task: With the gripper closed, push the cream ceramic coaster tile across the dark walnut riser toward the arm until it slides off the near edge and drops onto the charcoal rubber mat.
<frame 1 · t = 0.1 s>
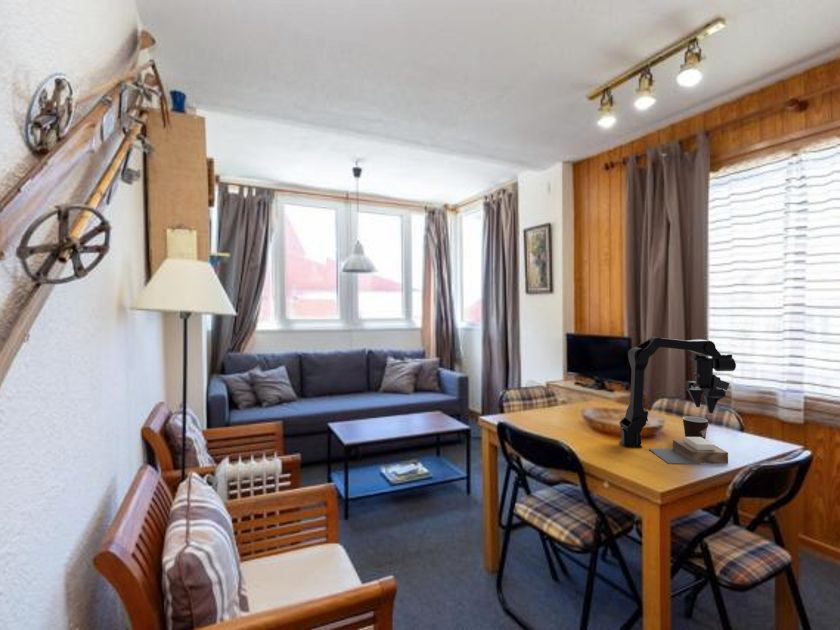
hand: (704, 410, 168), 15 cm above the table, fingers open, 9 cm apart
charcoal mat: (673, 456, 158), on the table
walnut riser: (699, 456, 158), on the table
ceramic tile: (699, 445, 158), point 4 cm above the table, touching walnut riser
coffee mug: (698, 444, 172), on the table
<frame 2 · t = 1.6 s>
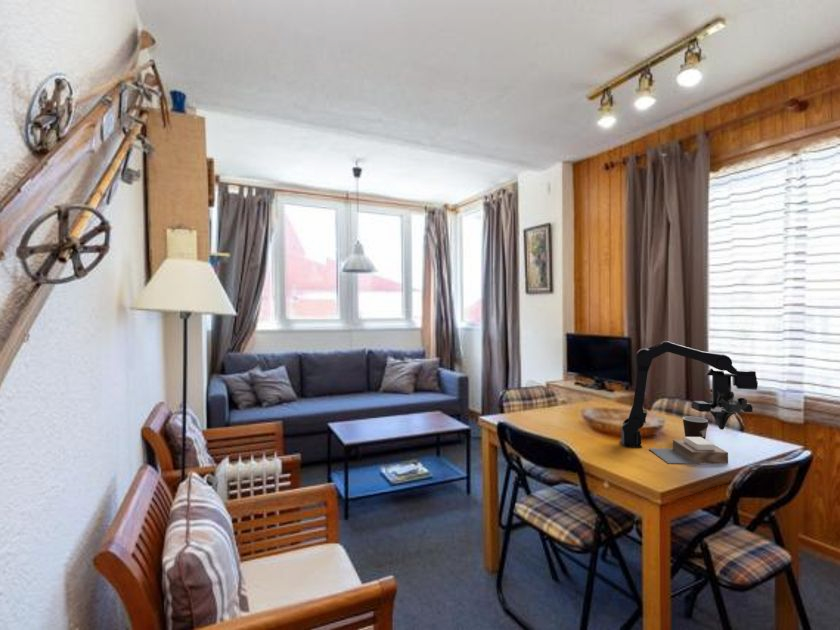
hand: (721, 429, 157), 10 cm above the table, fingers closed
nothing on the table moved.
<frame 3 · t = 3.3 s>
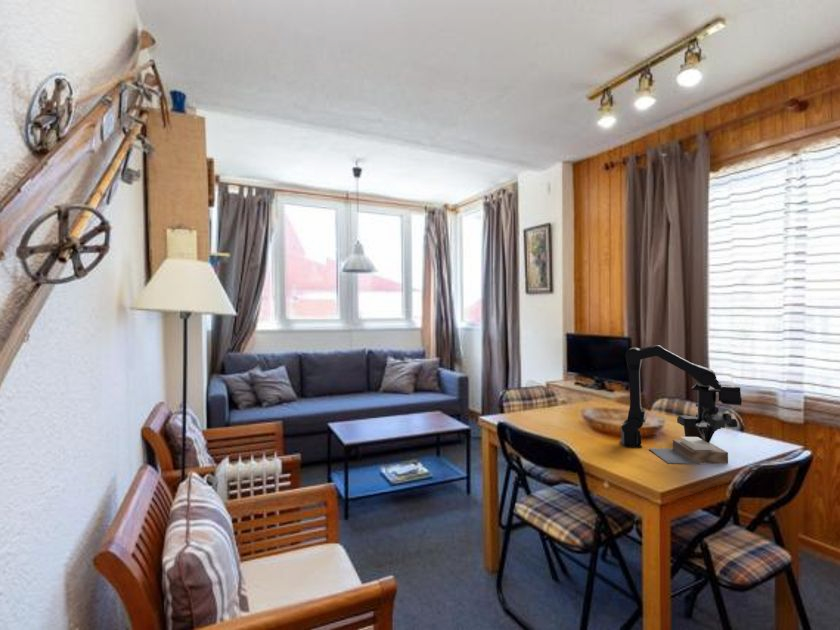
hand: (706, 444, 157), 5 cm above the table, fingers closed
ceramic tile: (695, 445, 158), point 4 cm above the table, touching gripper, walnut riser
everything else where it was.
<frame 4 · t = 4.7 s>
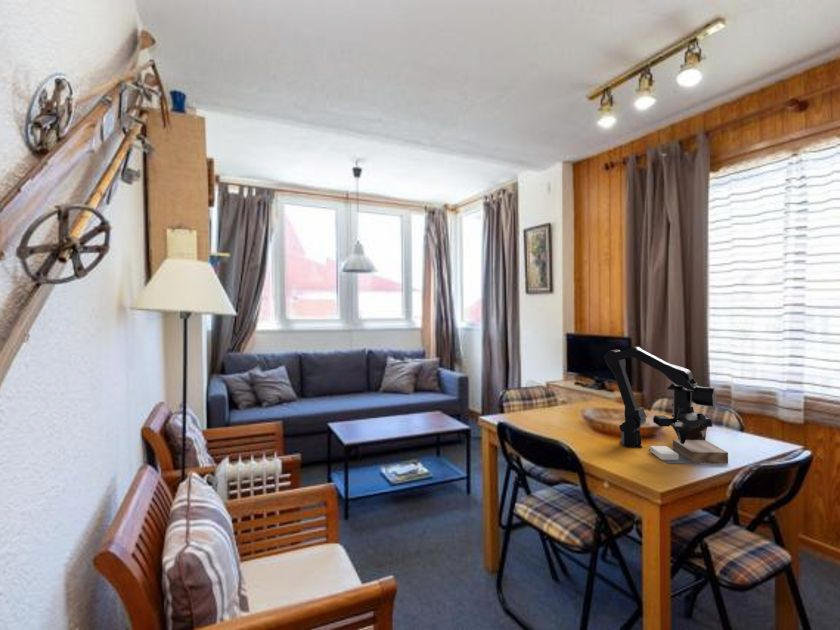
hand: (682, 443, 158), 5 cm above the table, fingers closed
ceramic tile: (663, 450, 158), point 2 cm above the table, tilted 180°, touching charcoal mat
everything else where it was.
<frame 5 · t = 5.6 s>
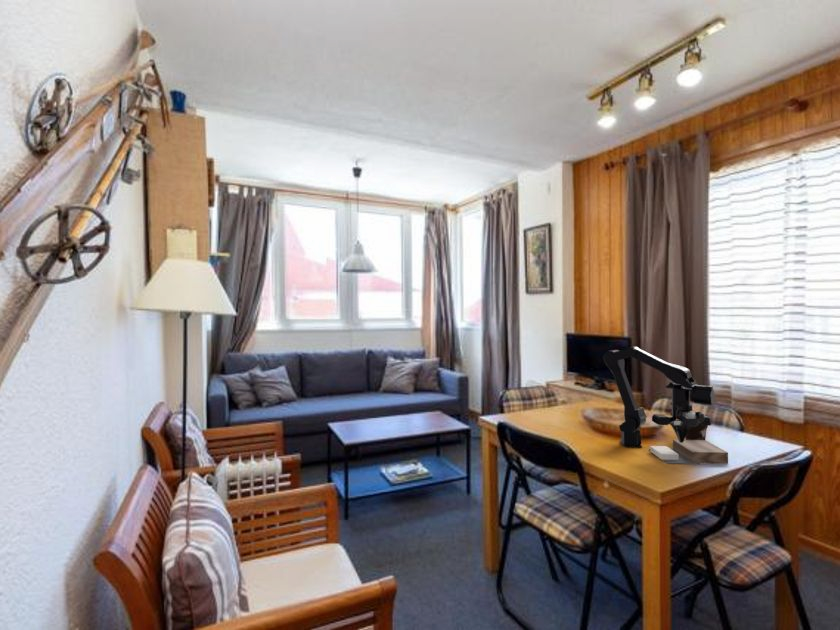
hand: (681, 442, 158), 5 cm above the table, fingers closed
nothing on the table moved.
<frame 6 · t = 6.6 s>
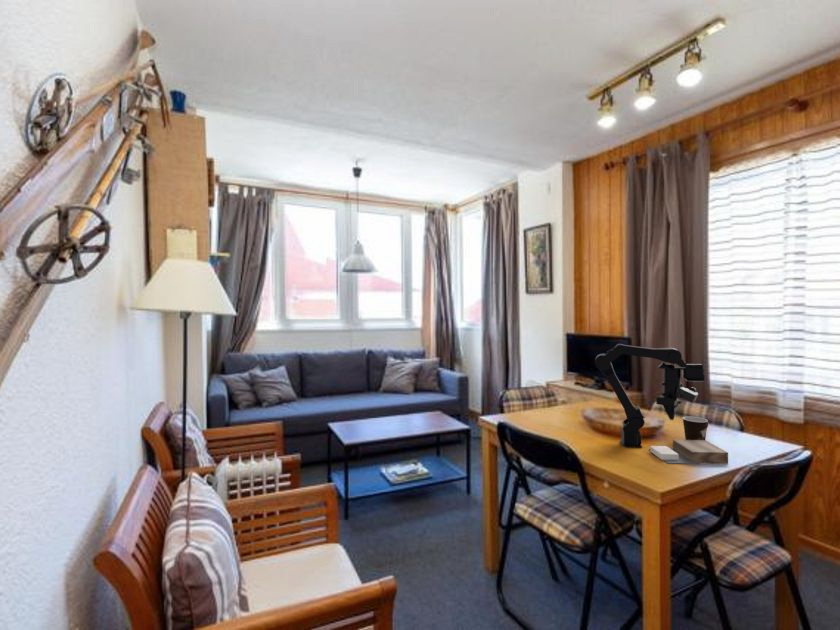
hand: (671, 419, 165), 12 cm above the table, fingers closed
nothing on the table moved.
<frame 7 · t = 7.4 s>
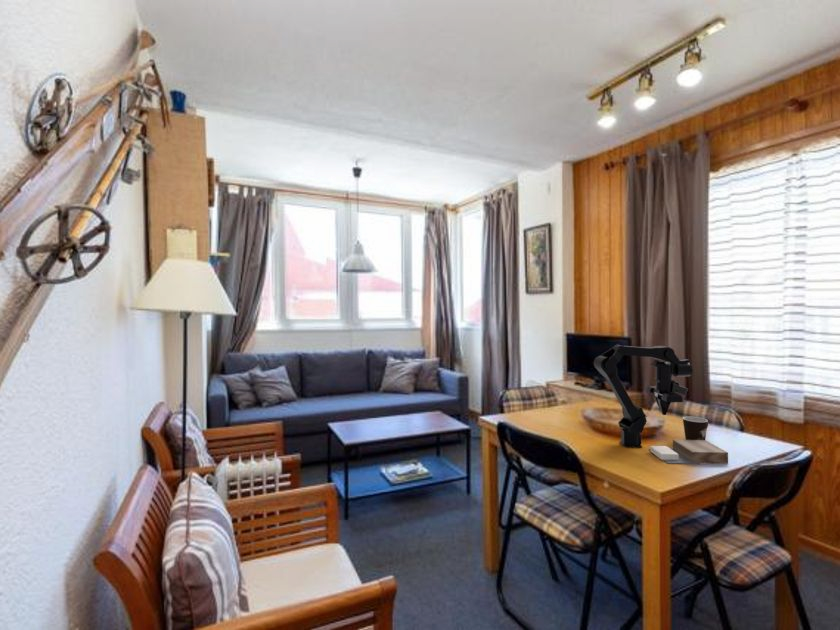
hand: (664, 414, 172), 12 cm above the table, fingers closed
nothing on the table moved.
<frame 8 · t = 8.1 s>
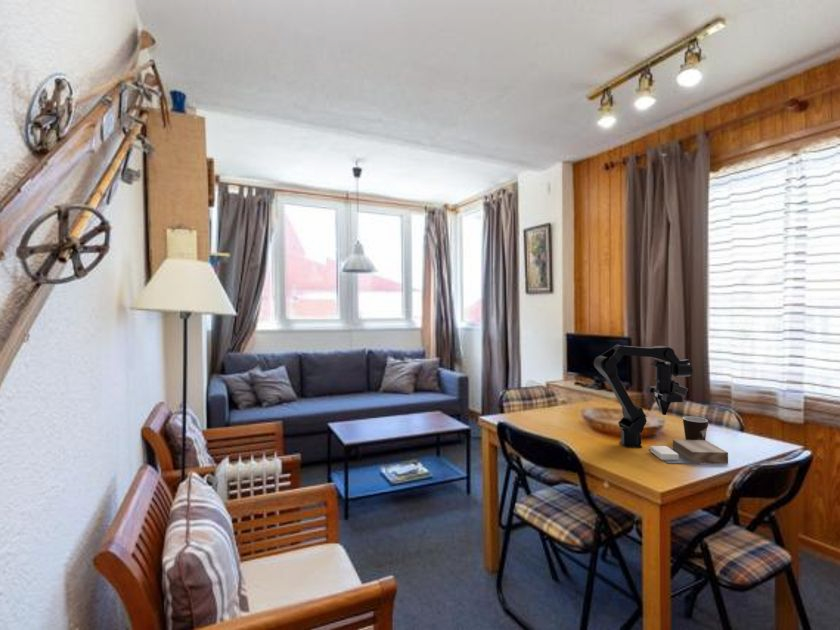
hand: (664, 414, 172), 12 cm above the table, fingers closed
nothing on the table moved.
at the end: ceramic tile inside the target area (2.8 cm from its centre), point 2.4 cm above the table; ceramic tile touching charcoal mat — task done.
